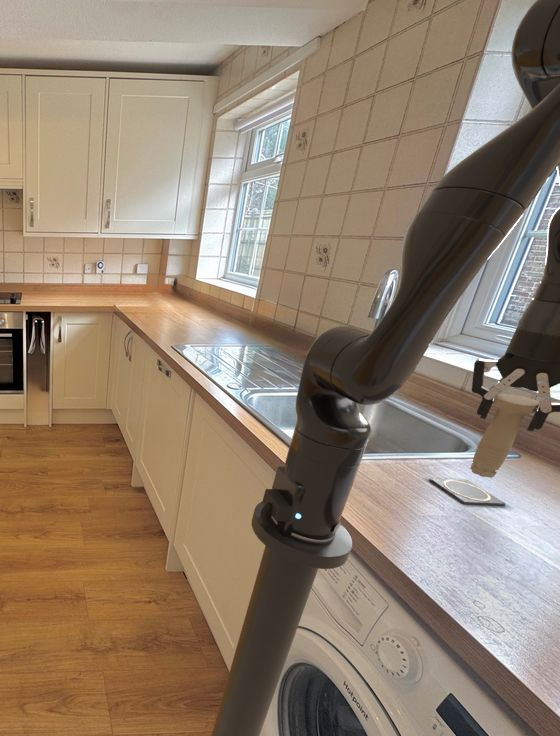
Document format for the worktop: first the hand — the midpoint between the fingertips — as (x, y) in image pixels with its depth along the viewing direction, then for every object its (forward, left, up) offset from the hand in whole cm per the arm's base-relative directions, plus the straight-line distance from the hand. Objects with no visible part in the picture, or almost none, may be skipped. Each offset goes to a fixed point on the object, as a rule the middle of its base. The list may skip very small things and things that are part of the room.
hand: (505, 423), depth 72 cm
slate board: (0, +1, -15) cm, 15 cm away
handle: (0, 0, -11) cm, 11 cm away
